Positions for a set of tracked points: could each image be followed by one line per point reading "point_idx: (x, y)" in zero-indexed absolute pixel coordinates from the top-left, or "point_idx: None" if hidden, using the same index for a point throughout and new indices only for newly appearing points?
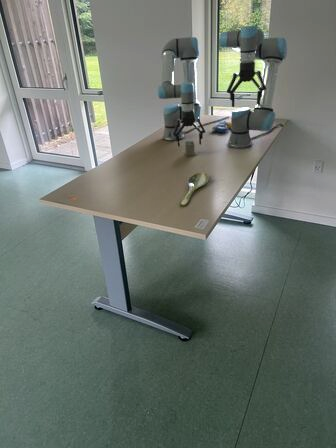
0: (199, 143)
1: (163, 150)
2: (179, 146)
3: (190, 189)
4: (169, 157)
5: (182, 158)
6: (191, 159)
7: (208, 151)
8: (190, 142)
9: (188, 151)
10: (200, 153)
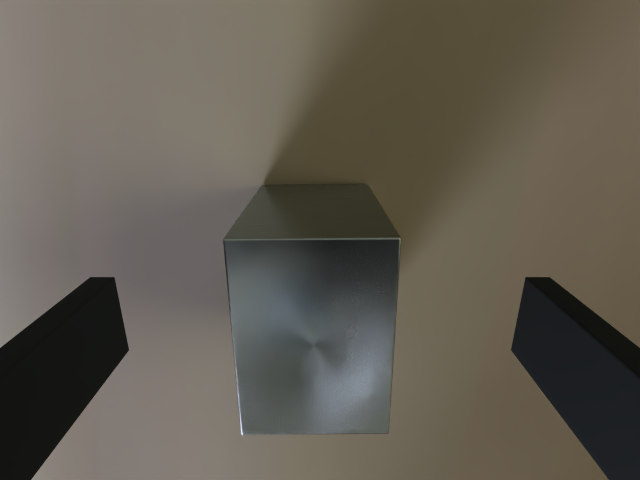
0: (123, 336)
1: None
2: (530, 277)
3: None
4: (605, 216)
5: (443, 128)
6: (320, 46)
7: None
8: (295, 367)
9: (351, 199)
10: (178, 256)
